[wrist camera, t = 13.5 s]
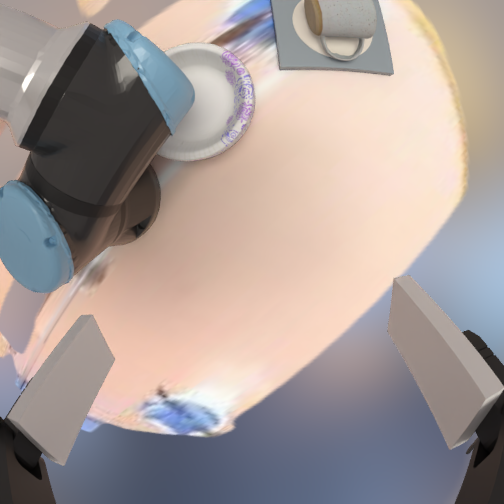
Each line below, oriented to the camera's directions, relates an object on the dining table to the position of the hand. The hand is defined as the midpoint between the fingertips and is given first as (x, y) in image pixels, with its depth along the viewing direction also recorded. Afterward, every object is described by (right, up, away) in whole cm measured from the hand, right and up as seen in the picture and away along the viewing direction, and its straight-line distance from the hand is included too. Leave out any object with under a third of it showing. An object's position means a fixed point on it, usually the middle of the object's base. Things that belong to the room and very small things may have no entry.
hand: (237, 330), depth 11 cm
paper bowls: (-7, +23, +24) cm, 34 cm away
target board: (+12, +36, +19) cm, 42 cm away
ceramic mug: (+12, +34, +18) cm, 41 cm away
